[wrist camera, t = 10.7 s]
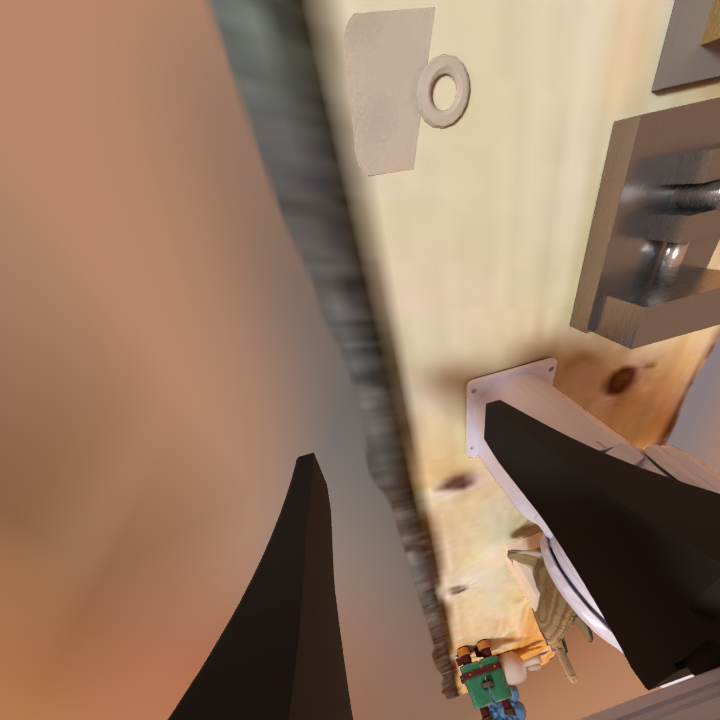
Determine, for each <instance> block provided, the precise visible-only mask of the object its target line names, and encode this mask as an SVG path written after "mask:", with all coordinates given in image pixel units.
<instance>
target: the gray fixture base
mask: <svg viewBox="0 0 720 720" xmlns="http://www.w3.org/2000/svg"><path fill="white" fill-rule="evenodd" d="M719 239H720V97H719V98H715V99H710V100H706V101H701V102H697V103H692V104H688V105H684V106H679V107H675V108H670V109H666V110H661V111H657V112H652V113H648V114H643V115H639V116H635V117H631V118H627V119H623V120H619V121H615V122H614V125H613V130H612V134H611V139H610V143H609V148H608V152H607V157H606V162H605V166H604V171H603V175H602V180H601V185H600V189H599V194H598V198H597V203H596V207H595V212H594V217H593V221H592V226H591V230H590V235H589V240H588V244H587V249H586V253H585V258H584V263H583V267H582V272H581V276H580V281H579V285H578V290H577V295H576V299H575V304H574V308H573V313H572V318H571V322H570V326H571V327H574V328H576V329H578V330H580V331H582V332H584V333H588V332H594V333H596V334H599V335H601V336H603V337H605V338H607V339H610V340H612V341H614V342H616V343H619V344H621V345H623V346H625V347H628V348H630V349H634V348H637V347H641V346H644V345H648V344H652V343H655V342H659V341H662V340H666V339H669V338H673V337H676V336H680V335H684V334H687V333H691V332H694V331H698V330H701V329H705V328H708V327H712V326H715V325H719V324H720V271H719V270H713V269H707V266H708V264H709V262H710V259H711V257H712V255H713V253H714V250H715V248H716V246H717V244H718V241H719Z"/></svg>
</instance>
